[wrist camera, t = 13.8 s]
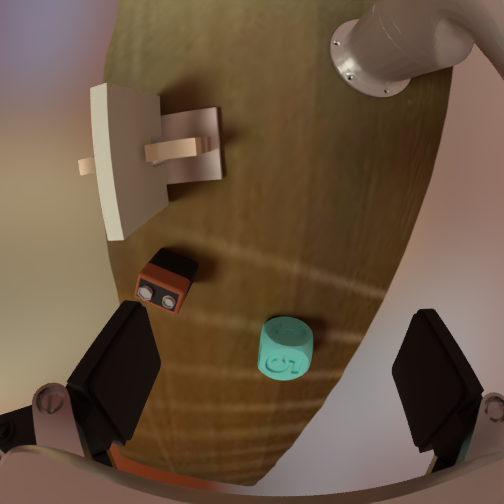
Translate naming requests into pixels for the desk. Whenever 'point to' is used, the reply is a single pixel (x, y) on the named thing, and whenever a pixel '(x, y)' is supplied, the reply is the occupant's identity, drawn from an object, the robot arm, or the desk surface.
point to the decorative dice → (285, 348)
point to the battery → (166, 280)
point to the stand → (182, 147)
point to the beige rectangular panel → (126, 157)
